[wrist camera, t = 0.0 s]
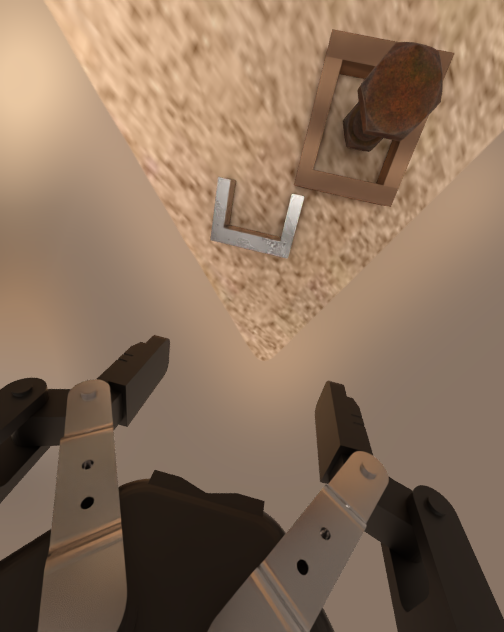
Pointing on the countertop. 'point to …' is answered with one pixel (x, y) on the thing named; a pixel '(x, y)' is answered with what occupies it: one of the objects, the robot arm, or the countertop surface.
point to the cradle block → (248, 237)
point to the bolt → (395, 96)
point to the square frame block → (341, 58)
